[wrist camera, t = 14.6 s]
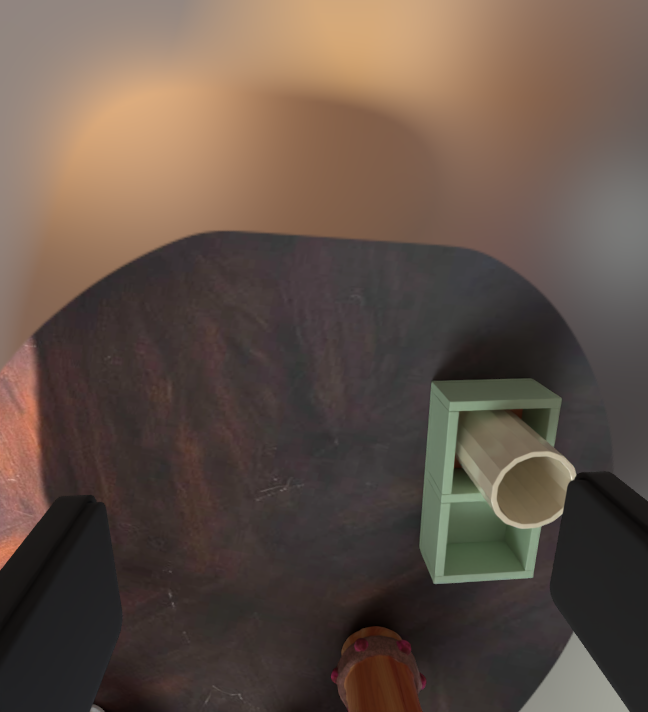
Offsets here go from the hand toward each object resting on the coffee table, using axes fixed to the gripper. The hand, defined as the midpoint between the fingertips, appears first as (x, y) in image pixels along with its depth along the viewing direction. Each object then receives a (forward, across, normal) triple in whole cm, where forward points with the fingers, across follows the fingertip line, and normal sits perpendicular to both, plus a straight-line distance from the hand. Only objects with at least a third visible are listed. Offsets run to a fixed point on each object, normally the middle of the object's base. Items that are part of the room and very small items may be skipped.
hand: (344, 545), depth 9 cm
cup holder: (+28, -16, +16) cm, 36 cm away
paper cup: (+28, -16, +12) cm, 34 cm away
